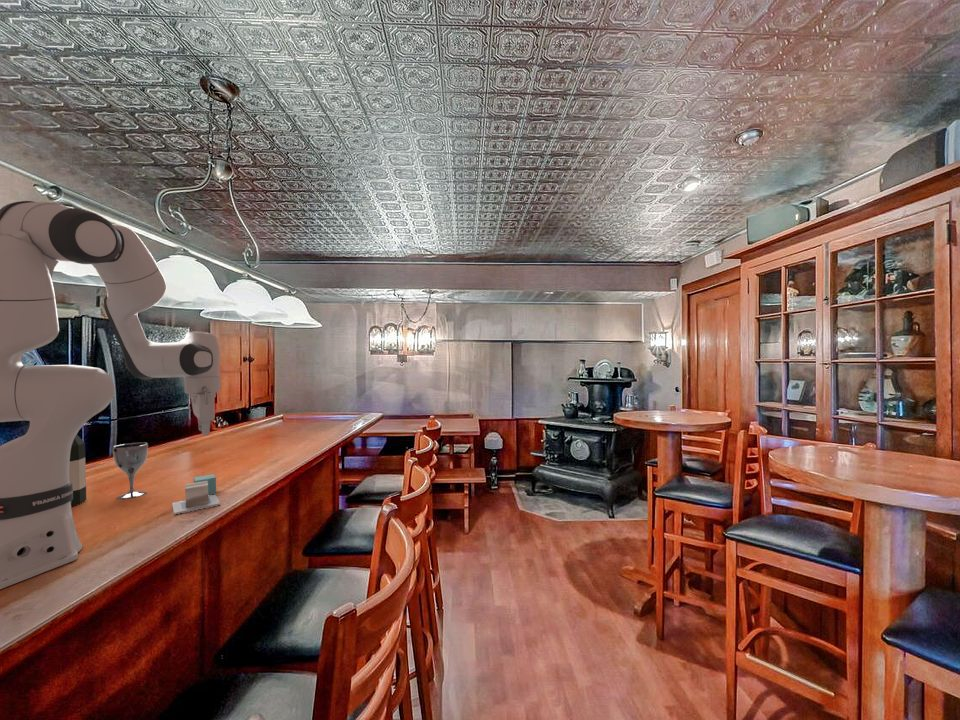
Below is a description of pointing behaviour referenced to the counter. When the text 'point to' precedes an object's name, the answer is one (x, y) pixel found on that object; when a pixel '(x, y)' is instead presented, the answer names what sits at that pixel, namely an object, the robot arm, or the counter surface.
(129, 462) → the wine glass
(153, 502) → the counter surface
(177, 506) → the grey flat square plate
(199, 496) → the off-white block
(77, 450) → the wine bottle
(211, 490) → the teal block
